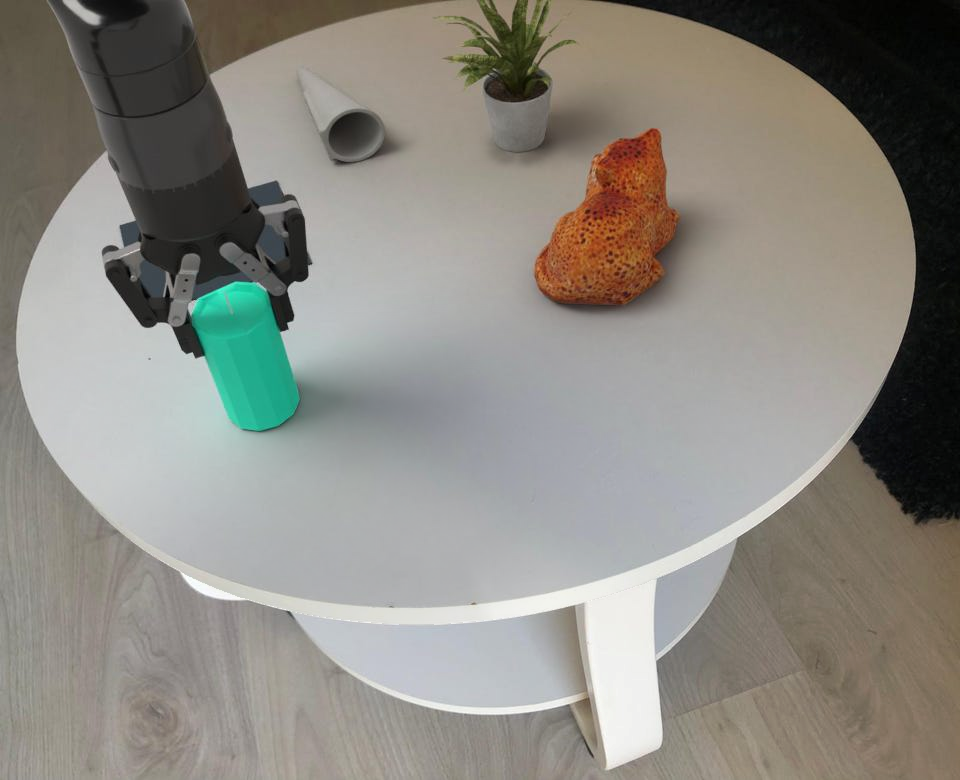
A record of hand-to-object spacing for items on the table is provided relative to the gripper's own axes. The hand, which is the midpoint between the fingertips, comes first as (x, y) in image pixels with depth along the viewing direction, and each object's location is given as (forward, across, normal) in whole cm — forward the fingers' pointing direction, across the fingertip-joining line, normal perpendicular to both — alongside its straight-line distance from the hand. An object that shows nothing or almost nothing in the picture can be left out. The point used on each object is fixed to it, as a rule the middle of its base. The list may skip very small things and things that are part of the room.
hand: (240, 336), depth 75 cm
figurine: (+8, -33, -4) cm, 34 cm away
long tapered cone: (+8, -17, -38) cm, 42 cm away
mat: (+8, 0, -22) cm, 23 cm away
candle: (+8, 0, 0) cm, 8 cm away
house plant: (+8, -33, -26) cm, 43 cm away
